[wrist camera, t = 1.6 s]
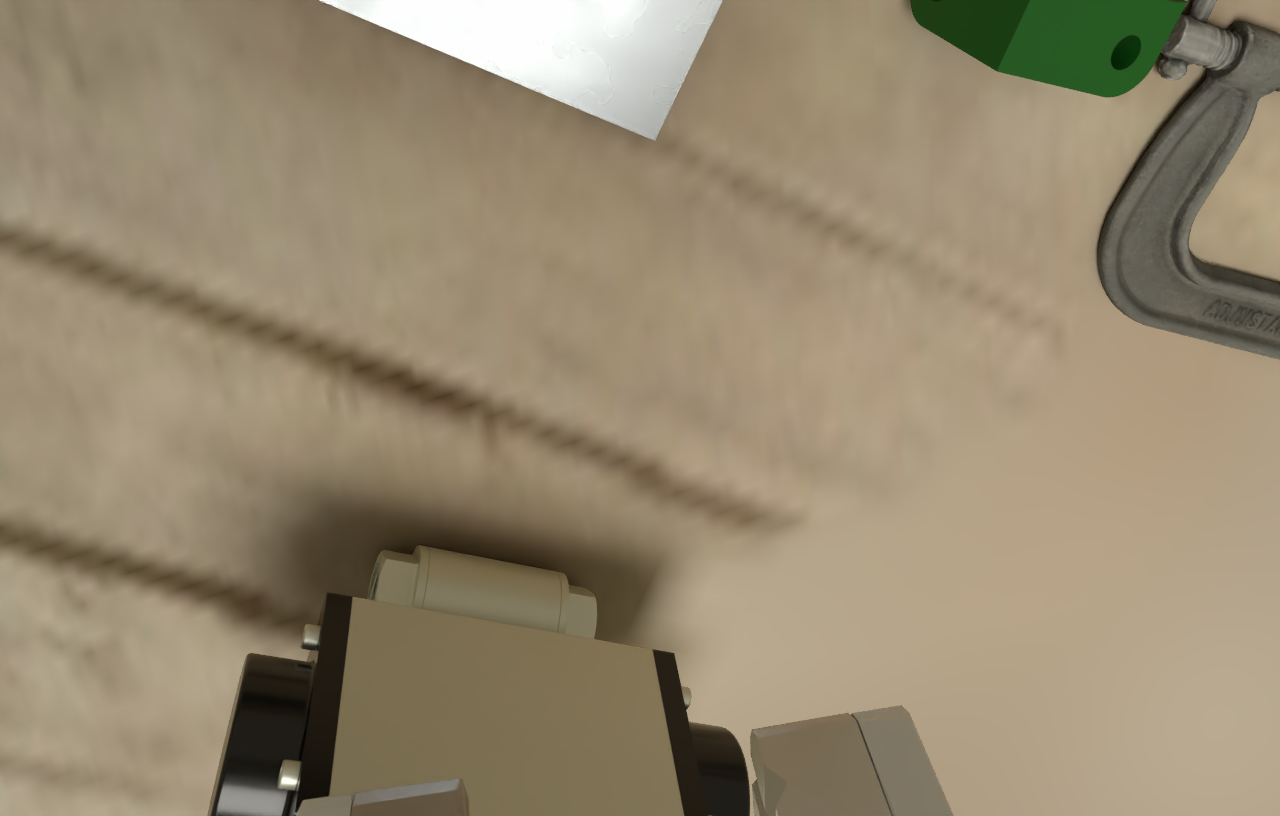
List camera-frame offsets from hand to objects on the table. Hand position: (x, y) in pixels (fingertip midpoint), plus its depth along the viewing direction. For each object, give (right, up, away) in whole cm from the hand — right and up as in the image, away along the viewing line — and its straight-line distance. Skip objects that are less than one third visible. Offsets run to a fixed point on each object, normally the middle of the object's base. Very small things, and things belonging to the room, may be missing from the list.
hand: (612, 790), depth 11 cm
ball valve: (-7, -4, +39) cm, 40 cm away
